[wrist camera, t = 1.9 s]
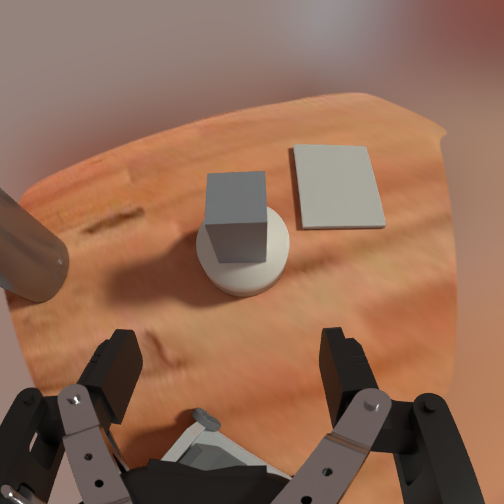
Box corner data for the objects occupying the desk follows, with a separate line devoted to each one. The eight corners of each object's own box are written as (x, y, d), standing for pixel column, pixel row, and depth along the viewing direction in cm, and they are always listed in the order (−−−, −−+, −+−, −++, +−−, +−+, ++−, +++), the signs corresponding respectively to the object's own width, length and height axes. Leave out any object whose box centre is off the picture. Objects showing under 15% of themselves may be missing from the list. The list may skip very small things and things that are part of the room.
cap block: (218, 263, 29) (204, 224, 22) (219, 221, 31) (207, 173, 23) (266, 261, 29) (267, 222, 22) (264, 219, 31) (264, 171, 23)
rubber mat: (302, 229, 35) (303, 226, 34) (293, 147, 39) (293, 144, 38) (384, 227, 34) (386, 225, 34) (364, 149, 39) (365, 146, 38)
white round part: (201, 297, 32) (194, 287, 28) (204, 220, 35) (198, 202, 32) (288, 295, 32) (292, 284, 28) (283, 217, 35) (286, 199, 31)
